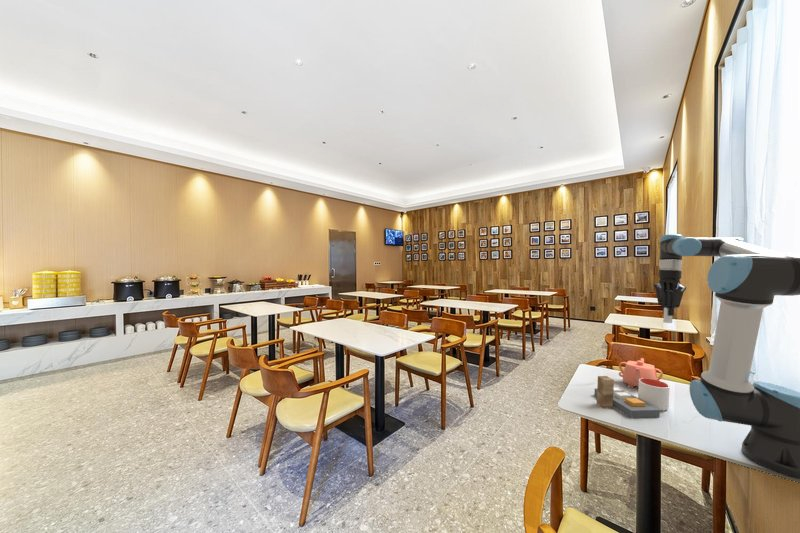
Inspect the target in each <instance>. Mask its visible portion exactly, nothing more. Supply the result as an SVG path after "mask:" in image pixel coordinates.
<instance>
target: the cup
mask: <svg viewBox="0 0 800 533" xmlns="http://www.w3.org/2000/svg"><path fill="white" fill-rule="evenodd" d="M670 390H671V389H670V385H669V384H668V383H666V382H664V381H662V380H659V381H658V380H654V379H648V378H642V379H639V387H638V392H637V394H638V395H637V398H639V399H640V400H642V401H644V402H646V403H648V404H650V405H652V406H654V407H655V408H657V409H659V410H660V412H661V411H667V410H668V409H669V407H670V405H669V404H670Z"/></svg>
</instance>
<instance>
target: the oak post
mask: <svg viewBox="0 0 800 533" xmlns="http://www.w3.org/2000/svg"><path fill="white" fill-rule="evenodd" d="M614 382H615V380H614V378H611V377H609V376H608V375H598V376H597V384H596V385H597V388H596V389H597V396H596V405H598V406H599V407H601V408H602V409H614V407H613V391H614V387H615V386H614V385H615V383H614Z"/></svg>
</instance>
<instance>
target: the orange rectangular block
mask: <svg viewBox="0 0 800 533" xmlns="http://www.w3.org/2000/svg"><path fill="white" fill-rule="evenodd" d="M637 398H638V397H637ZM637 398H625V403H627V404H629V405H630V406H632V407H645V402H643V401H641V400H639V399H637Z"/></svg>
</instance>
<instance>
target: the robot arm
mask: <svg viewBox="0 0 800 533" xmlns="http://www.w3.org/2000/svg"><path fill="white" fill-rule="evenodd" d="M683 257H717V259H716V260H714V262H712V264H711V266H710V268H709V270H708V273H707V282H708V283H707V285H708V288H709V289H710V290H711V292H714V293H715V294H714V297H715V298H716V299H717V300H719V301H720V304H719V311H718V316H717V321H716V327H715V328H716V329H715V333H714V340H713V344H712V350H711V355H710V356H711V357H710V362H709V366H708V370H705V371H703V372H701V375H700V379H694V380H691V381H690V383H689V387H688V388H689V389H688V390H689V395H690V399H691V402H692V403H693V406H694V408H695V409H696V411H697V412H698V413H699V415H701V416H702V417H704V418H706V419H709V420H714V421H715V420H716V421H718V422H726V423H732V424H737V425H738V424H739V425H745V426H750V430H749V432H748V434H747V435H746V436H745V438H744V439H743V441H742V442H741V452H742V454H743V455H745V456H746V457H747V458H748V459H750V460H751V461H753V462H755V463H756V464H758V465H760V466H762V467H764V468H767V469H769V470H772V471H775V472H777V473H780V474H783V475H785V474H786V476H790V477H793V478H798V479H800V392H799V391H796V390H794V389H791V388H788V387H784V386H781V385H778V384H774V383H770V382H766V381H765V382H764V381H754V382H753V384H752V383H751V382H750V381H749V379H750V374H751V369H752V366H753V359H754V355H755V351H756V350H755V349H756V346H757V340H758V335H759V331H760V327H761V321H762V318H763V312H764V309H765V308H767V307H769V306H772V305H773V303H774V299H775V296H786V297H787V296H789V297H790V296H793V297H794V296H800V253H795V252H787V253H785V252H783V253H782V252H779V251H776V250H772V249H769V248H765V247H761V246H757V245H755V244H751V243H748V241H747V240H746V239H744V238H743V237H734V236H728V237H692V236H684V235H682V234H678V233H676V234H675V233H674V234H673V233H672V234H663V235H661V236H660V240H659V259H658V260H659V261H658V262H659V264H658V269H659V270H658V278H659V280H658V283H654V284H653V288H654V289H655V293H656V298H657V304H658V306H661V307H662V315H663V319H662V320H663V323H667V324H672V323H673V316H675V314H674V313H675V309H677V308H680V305H681V302H682V298H683V296H684V295H683V294H684V292H685V291H686V290H687V287H686V286H683V285H682V284H681V281H680V280H681V279H682V267H683V266H682V265H683ZM718 257H719V258H718Z"/></svg>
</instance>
